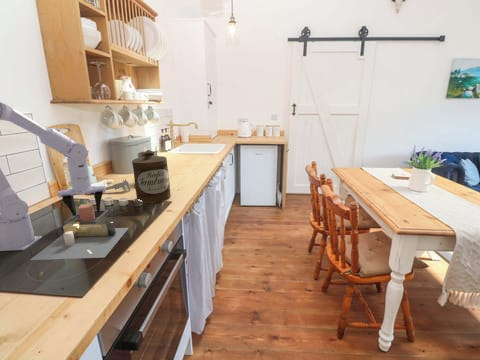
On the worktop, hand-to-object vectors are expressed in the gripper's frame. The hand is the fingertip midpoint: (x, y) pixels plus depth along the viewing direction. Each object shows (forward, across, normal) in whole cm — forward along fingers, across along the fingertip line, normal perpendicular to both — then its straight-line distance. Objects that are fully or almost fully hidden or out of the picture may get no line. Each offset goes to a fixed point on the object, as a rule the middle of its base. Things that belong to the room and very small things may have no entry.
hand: (86, 213), depth 96 cm
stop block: (+3, 0, 0) cm, 3 cm away
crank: (+2, +3, -15) cm, 15 cm away
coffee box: (+4, +25, +50) cm, 56 cm away
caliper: (+4, +4, +36) cm, 36 cm away
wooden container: (+4, +24, +18) cm, 31 cm away
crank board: (+4, +2, -18) cm, 19 cm away
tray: (+3, 0, 0) cm, 4 cm away
